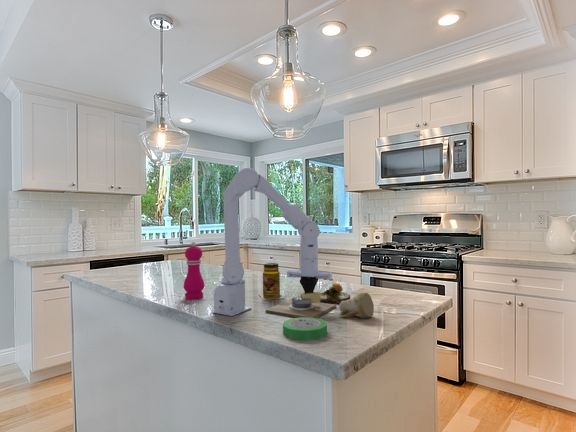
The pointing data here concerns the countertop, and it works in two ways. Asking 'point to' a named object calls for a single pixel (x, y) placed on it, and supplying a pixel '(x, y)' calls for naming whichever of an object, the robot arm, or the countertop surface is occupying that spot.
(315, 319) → the tape roll
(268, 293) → the condiment
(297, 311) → the post base
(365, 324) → the countertop surface
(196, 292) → the pepper mill
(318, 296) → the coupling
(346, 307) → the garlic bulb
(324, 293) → the plate of food
